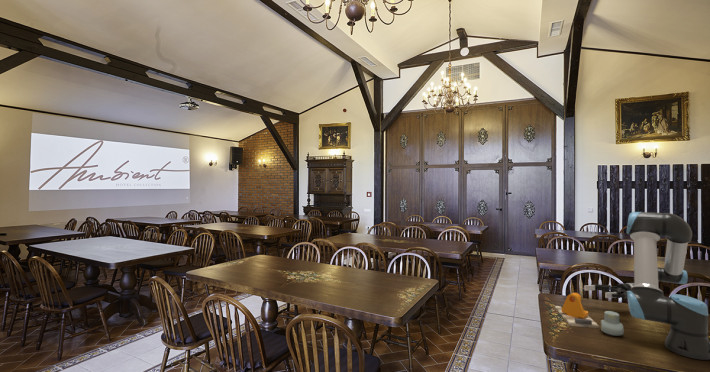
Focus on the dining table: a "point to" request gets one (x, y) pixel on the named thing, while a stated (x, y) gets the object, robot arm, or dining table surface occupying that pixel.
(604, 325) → the air freshener
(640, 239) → the robot arm
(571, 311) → the bracket
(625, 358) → the dining table surface
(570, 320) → the rail board
